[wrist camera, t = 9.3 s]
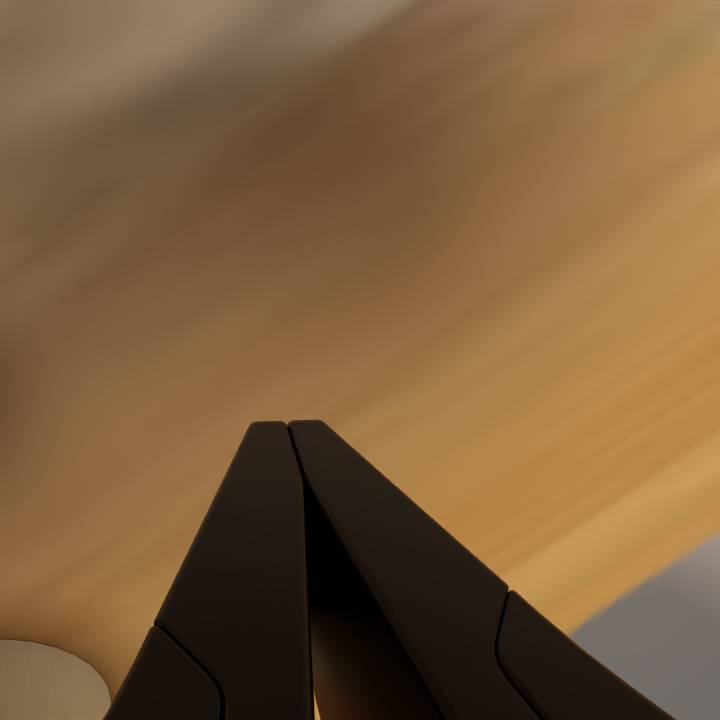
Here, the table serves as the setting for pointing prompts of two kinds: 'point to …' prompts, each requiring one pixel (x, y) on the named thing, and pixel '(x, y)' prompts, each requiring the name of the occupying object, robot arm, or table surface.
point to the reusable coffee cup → (48, 684)
